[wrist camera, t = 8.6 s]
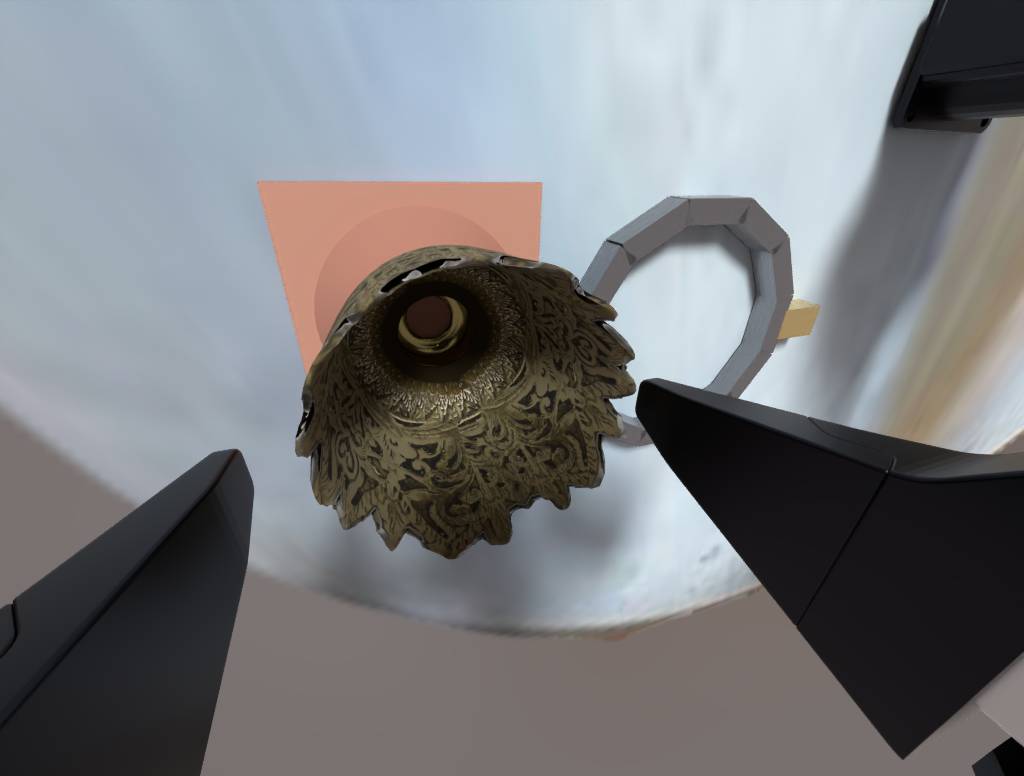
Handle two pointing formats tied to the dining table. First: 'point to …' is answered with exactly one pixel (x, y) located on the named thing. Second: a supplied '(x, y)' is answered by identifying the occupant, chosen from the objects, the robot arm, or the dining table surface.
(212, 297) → the dining table surface
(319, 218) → the coaster
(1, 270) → the dining table surface
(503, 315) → the cup
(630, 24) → the dining table surface
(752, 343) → the collar
